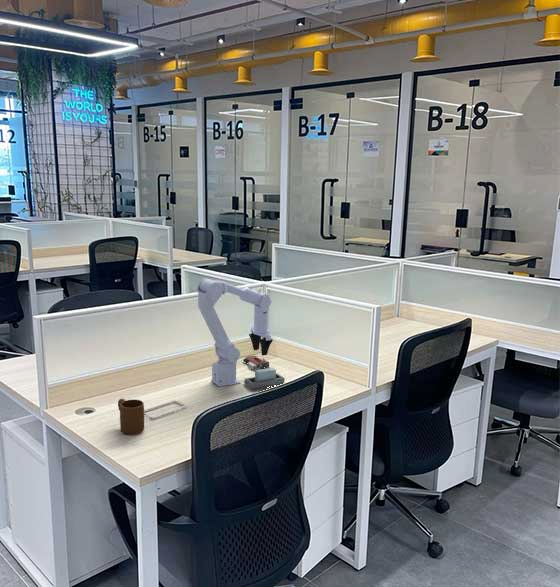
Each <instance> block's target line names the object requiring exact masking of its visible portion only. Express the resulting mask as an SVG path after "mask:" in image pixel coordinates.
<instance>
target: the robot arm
mask: <svg viewBox="0 0 560 587" xmlns="http://www.w3.org/2000/svg"><path fill="white" fill-rule="evenodd" d="M196 291H197V297H198V300H197V303H198V304H197V306H198V307H197V308H198V310H199V312H200V313H201V315H202V318H203V319H204V321H205V323H206V325H207V327H208V329H209V332H210V333H211V336H212V337H213V340H214V342H215V343H214V344H213V345H214V348H215V354H216V356H217V357H218V358H217V359H218V361H216V362H213V363H212V366H211V380H210V381H211V382H212V383H214V384H215V385H216V386H218V387H225V386H231V385H237V384H240V383H241V382H240V381H239V380H238V379H237V363H238V360H239V359H240V357H241V353H240V350H239V348H237V347H236V345H235V344H234V343H233V342H232V341H231V340H230V338H229V336H228V334H227V333H226V332H227V331H225V328H224V326H223V324H222V322H221V320H220V317H219V316H218V314H217V311H216V309H215V305H216V304H217V302H218V300H220V298H221V297H222V295H226V294H227V293H228V294H232V295H235V296H238V297H239V299H240V300H241V301H242V302H245V303H248V304H251V305H253V306H254V314H253V315H254V317H253V318H254V319H253V327H251V328H250V333H248V336H249V339H250V340H251V344H252V349H253V351H259V349H260V351H261V356H267V355H268V352H269V349H270V346H271V344H272V343H273V341H274V340H273V338H272V335H271V334H270V332H271V331H270V330H269V328H268V326H269V310H270V306H271V304H272V300H271V296H270V295H268V294H266V293H263V292H262V291H261V290H255V289H253V287H251V286H246V287H243V288H241V287H238V286H236V285H233V284H230V283H229V282H225V281H223V280H217V279H210V278H209V277H208V278H207V277H206V278H202V279H201V280H200V282H198V285H197V287H196Z"/></svg>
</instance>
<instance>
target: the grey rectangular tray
mask: <svg viewBox="0 0 560 587" xmlns="http://www.w3.org/2000/svg"><path fill="white" fill-rule="evenodd" d="M283 383H284V384H285V377H284V376H282V375H281V374H279V373H276V379H270V380H264V381H258V382H255V376H253V377H246V378H244V383H243V386H244V387H245V388H247V390H249V391H250V392H258V390H259V391H262V389H263V390H268V389H267V387H269V386H270V387H269V388H270V389H272V388H271V386H272V387H274V385H276V386H277V385H280V384H283Z"/></svg>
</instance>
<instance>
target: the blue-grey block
mask: <svg viewBox="0 0 560 587" xmlns="http://www.w3.org/2000/svg"><path fill="white" fill-rule="evenodd" d="M276 374H277V369H275V368H274V367H269V368H264V369H260V370H254V377H255V382H258V381H264V380H270V379H276Z"/></svg>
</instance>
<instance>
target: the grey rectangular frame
mask: <svg viewBox="0 0 560 587" xmlns="http://www.w3.org/2000/svg"><path fill="white" fill-rule="evenodd" d="M171 404H177V405H179V406H181V407H179V408H178V407H177V408H175V409H173V410H169V411H166V412H164V413H161V414H158V415H155V416H152V415H150V414H148V412H151V411H153V409H154V410H157V409H160V408H162V407H166V406H168V405H171ZM187 407H188V405H187V404H185V403H182V402H181V401H178V400H171V401H168V402H165V403H161V404H159V405H156V406H153V407H150V408H147V409H144V416H145V415H146V416H147V417H149V418H150V419H151V420H152V419H154V420H157V419H160V418H163V417H166V416H169V415H171V414H174V413H175V411H178V410H182V409H183V410H186V409H187Z"/></svg>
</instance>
